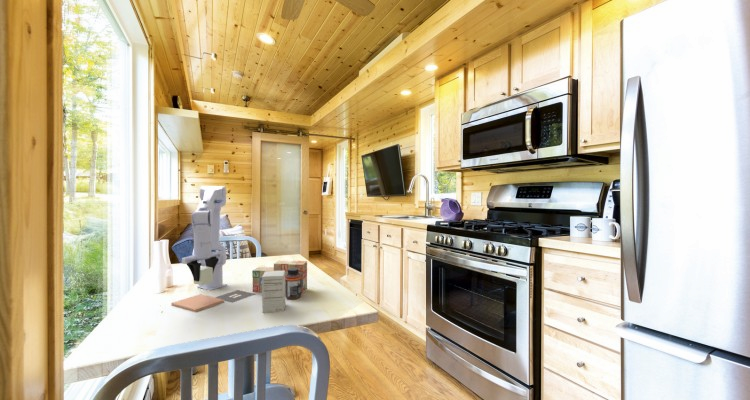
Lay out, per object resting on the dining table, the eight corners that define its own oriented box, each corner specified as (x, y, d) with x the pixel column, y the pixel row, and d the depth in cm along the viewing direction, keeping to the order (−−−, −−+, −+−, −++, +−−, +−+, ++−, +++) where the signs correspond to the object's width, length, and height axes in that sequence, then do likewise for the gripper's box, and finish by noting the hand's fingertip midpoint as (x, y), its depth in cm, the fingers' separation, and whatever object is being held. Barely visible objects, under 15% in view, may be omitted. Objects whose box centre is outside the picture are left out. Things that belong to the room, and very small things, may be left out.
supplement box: (265, 305, 114) (264, 271, 114) (286, 303, 115) (285, 270, 115) (261, 313, 107) (261, 276, 106) (284, 311, 108) (283, 275, 108)
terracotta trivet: (171, 305, 113) (171, 302, 113) (200, 296, 123) (200, 294, 123) (195, 312, 107) (195, 309, 107) (223, 302, 117) (223, 299, 117)
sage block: (193, 283, 115) (193, 268, 115) (205, 280, 119) (205, 266, 119) (201, 285, 113) (201, 270, 113) (212, 282, 117) (212, 267, 117)
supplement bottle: (287, 294, 125) (286, 266, 125) (302, 294, 126) (302, 266, 125) (284, 300, 119) (283, 270, 119) (299, 299, 120) (299, 270, 119)
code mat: (213, 298, 121) (213, 297, 121) (237, 290, 131) (237, 289, 131) (232, 303, 116) (232, 302, 116) (256, 294, 126) (256, 293, 126)
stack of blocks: (252, 292, 128) (251, 263, 128) (258, 288, 135) (258, 259, 134) (303, 294, 127) (302, 264, 126) (307, 289, 133) (307, 260, 132)
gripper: (190, 246, 107) (190, 285, 108) (227, 240, 120) (227, 275, 121) (177, 245, 110) (178, 283, 111) (215, 239, 123) (215, 273, 124)
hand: (203, 279), depth 116 cm, fingers closed on sage block, 4 cm apart
